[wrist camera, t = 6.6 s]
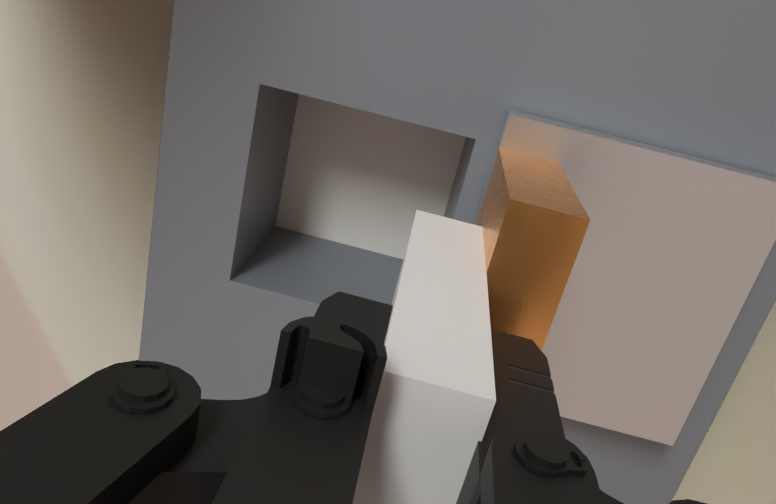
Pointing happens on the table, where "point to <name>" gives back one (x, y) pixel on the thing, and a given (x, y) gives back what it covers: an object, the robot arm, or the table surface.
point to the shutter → (620, 266)
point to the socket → (420, 160)
